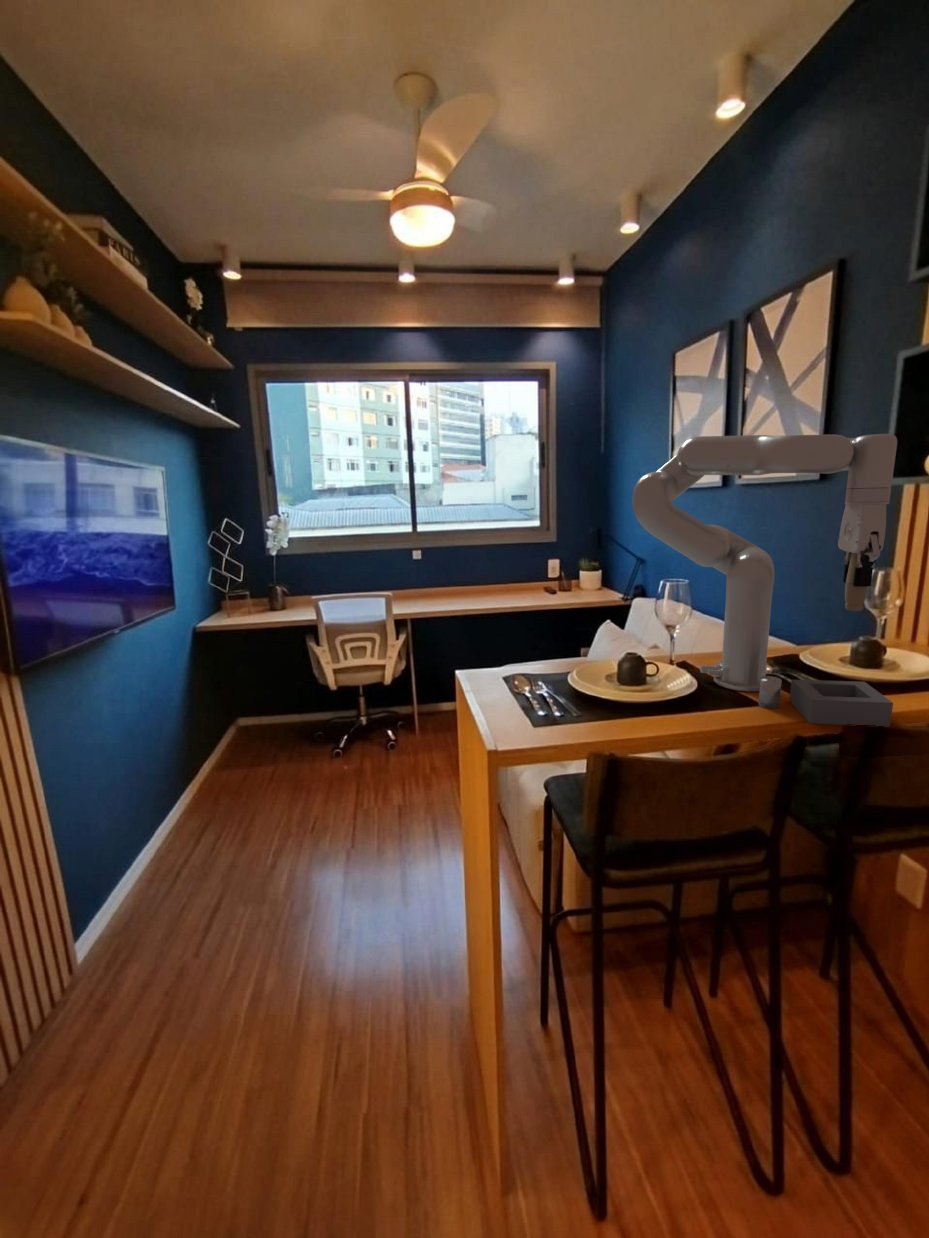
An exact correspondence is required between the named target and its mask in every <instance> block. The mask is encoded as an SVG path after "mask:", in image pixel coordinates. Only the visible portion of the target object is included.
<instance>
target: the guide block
mask: <svg viewBox="0 0 929 1238" xmlns="http://www.w3.org/2000/svg"><path fill="white" fill-rule="evenodd" d="M789 702H790V704H791V705H793V707H794V708H795V709H796V710H797V712H799V714H800V715H802V717H803V718H804V719H805V720H806V721H807V722H808V723H809V724H811V725H816V724H817V725H834V726H835V725H837V726H848V725H847V724H865V725H876V726H875V727H878V726H884V727H883V728H890V727H891V723H892V722H891V721H892V720H891V719H892V716H893V715H892V714H893V706H894V702H893V701H891V700H890V699H889V698H887V697H886V696H884V695H883V694H882V693H881V692H879V691H878V690H877V689H875V688H874V687H872V686H871V685H870V684H868V683H867V682H866V681H853V680H851V681H850V680H847V681H846V680H820V679H818V680H816V679H815V680H814V679H812V680H811V679H791V681H790V693H789Z"/></svg>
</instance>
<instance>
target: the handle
mask: <svg viewBox="0 0 929 1238" xmlns="http://www.w3.org/2000/svg"><path fill="white" fill-rule="evenodd" d="M862 552H870V550H864V551H862ZM857 558H858V553H852V552H851V558H850V564H849V569H848V574H847V579H846V583H845V586H844V601H845V603H844V608H845V609H846V611H849V612H850V611H852V612H861V611H863V610H864V607H865V606H864V603H865V601H866V597H867V593H868V587H855V586H853V579H854V571H855V567H857ZM864 558H865V556H863V559H864Z"/></svg>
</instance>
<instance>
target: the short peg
mask: <svg viewBox="0 0 929 1238" xmlns="http://www.w3.org/2000/svg"><path fill="white" fill-rule="evenodd" d="M781 693H782V679H781V678H779V677H777V676H771V675H770V676H769V675H768V676H767V675H765V676H763V677H761V678H760V690H759V691H758V701H757V702H758V706H759V707H760V708H763V709H768V710H778V709H779V708H780V704H781V703H780V702H781Z"/></svg>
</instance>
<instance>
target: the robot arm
mask: <svg viewBox="0 0 929 1238" xmlns="http://www.w3.org/2000/svg"><path fill="white" fill-rule="evenodd" d="M897 447H898V439H897V436H896V435H894V434H892V433H877V434H876V433H875V434H864V435H860V436H857V437H846V436H844V435H841V434H832V433H831V434H830V433H829V434H800V435H799V434H797V435H792V434H791V435H770V434H769V435H768V434H767V435H766V434H758V435H757V434H756V435H755V434H752V435H747V434H746V435H715V436H714V435H711V436H710V435H706V436H693V437H690V438H687V439H686V440H685V441H684V442H683V443H682V444H681V445H680V446H679V448H678V451H677V453H676V454H675V455H674V456H673V457H672V458H671V459H670V460H668V461H667V462H666V463H665V464H664V465H662V466H661V467H659V469H657V470H656V471H651V472H648V473H646V474H645V475H642V476H641V477H639V479H638V480H637V482H636V484H635V486H634V488H633V493H632V509H633V513H634V515H635V517H636V520H637V521H638V523H639V525H640V526H641V527H642V528H643V529H644V531H646V532H647V533H649V534H650V535H651V536H653V537H654V538H656V539H657V540H659V541H661V542H662V543H664V544H665V545H667V546H669V547H670V548H671V549H673V550H675V551H676V552H678V553H680V554H681V555H683V556H684V557H686V558H688V559H689V560H691V561H692V562H694V563H695V564H697V565H698V566H701V567H705V568H714V569H715V570H717V571H718V572H720V573H721V574H724V575H726V580H725V581H726V582H725V583H726V585H725V589H726V590H725V607H724V624H723V638H722V657H721V660H718V662H717V663H715V664H714V665H709V664H700V668H699V669H700V670H699V671H700V674H701V673H702V674H707V675H708V676H713V682H714V683H715V684H716V685H718V686H721V687H722V688H725V689H728V690H734V691H741V692H759V690H760V678H761V677H763V676H766V673H767V672H766V671H767V660H768V648H769V635H770V626H771V625H770V624H771V613H772V612H771V610H772V609H771V608H772V600H773V593H774V592H773V590H774V585H775V566H774V563H773V562H774V561H773V559H772V557H771V556H770V554H769V553H768V552H767V551H765V550H764V549H762V548H760V547H759V546H757V545H755V544H754V543H752V542H750V541H749V540H747V539H745V538H744V537H741V536H740V535H738V534H736V533H735V532H733V531H731V530H729V529H727V528H725V527H723V526H721V525H718V524H707V523H704V522H703V521H701V520H699V519H697V518H696V517H694V516H692V515H691V514H690V513H688V512H686V511H683V510H682V509H679V508H678V507H677V506H676V505H674V503H673V502H674V501H675V500H676V499H677V498H679V497H680V496H681V495H682V494H683V493H685V491H687V490H688V489H690V488H691V487H692V486H693V485H695V484H697V482H698V481H700V480H701V479H702V478H703V477H704V476H763V475H770V474H824V475H825V474H826V475H827V474H834V473H835V474H836V473H838V472H845V471H848V474H847V482H846V483H847V484H846V490H845V491H846V492H845V498H844V499H845V500H844V505H845V508H844V511H843V513H842V514H843V515H842V519H841V524H840V527H839V528H840V529H839V535H838V541H837V546H838V549H840V550H841V551H844V555H845V557H844V568H843V576H842V577H843V578H842V582H843V583H845V584H846V579H847V574H848V569H849V564H850V558H851V552H852V553H858V558H857V567H855V571H854V579H853V586H855V587H867V588H869V587H871V586H872V582H873V581H872V580H873V572H874V568H875V566H876V565H875V564H876V561H877V560H878V558H880V556H881V551H882V550H883V548H884V542H885V538H886V529H887V528H886V526H887V505H889V504H890V499H891V493H892V485H893V483H892V482H893V479H894V478H893V477H894V469H895V464H896V463H895V462H896V454H897ZM864 550H870V552H862V551H864ZM863 556H865V558H864V559H863Z"/></svg>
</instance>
